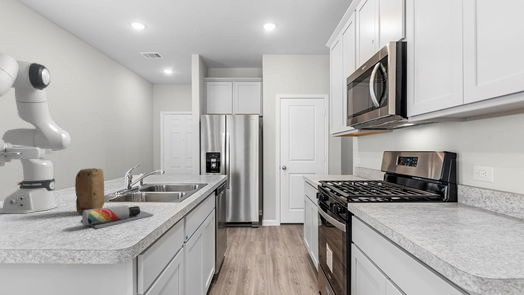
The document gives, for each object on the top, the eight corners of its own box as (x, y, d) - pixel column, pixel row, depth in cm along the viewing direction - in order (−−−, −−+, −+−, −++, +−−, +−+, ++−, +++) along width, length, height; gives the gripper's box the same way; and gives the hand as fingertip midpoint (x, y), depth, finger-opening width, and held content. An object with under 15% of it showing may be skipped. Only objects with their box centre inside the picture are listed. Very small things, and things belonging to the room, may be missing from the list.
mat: (97, 229, 95) (97, 227, 95) (80, 221, 104) (80, 219, 104) (153, 215, 112) (153, 214, 112) (134, 210, 122) (134, 208, 122)
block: (106, 210, 121) (105, 168, 121) (92, 215, 114) (92, 169, 114) (86, 209, 123) (86, 168, 123) (72, 213, 116) (71, 169, 116)
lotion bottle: (86, 221, 94) (142, 212, 108) (84, 207, 96) (139, 201, 111) (83, 228, 96) (138, 219, 111) (81, 215, 99) (135, 208, 114)
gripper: (1, 143, 76) (59, 143, 87) (-10, 142, 88) (42, 141, 99) (1, 165, 76) (59, 161, 87) (-9, 160, 88) (42, 158, 99)
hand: (50, 151), depth 93 cm, fingers closed
